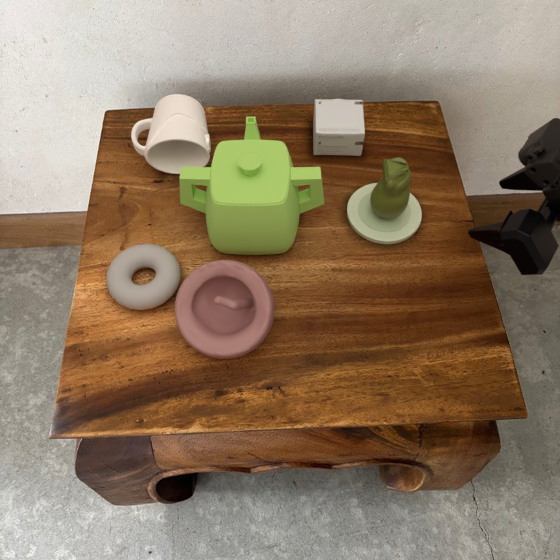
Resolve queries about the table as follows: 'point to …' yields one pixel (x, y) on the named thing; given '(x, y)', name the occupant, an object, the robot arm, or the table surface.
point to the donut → (150, 292)
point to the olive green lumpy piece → (392, 189)
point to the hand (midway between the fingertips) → (485, 208)
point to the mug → (175, 135)
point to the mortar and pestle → (224, 309)
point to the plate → (381, 219)
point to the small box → (338, 127)
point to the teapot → (251, 194)
